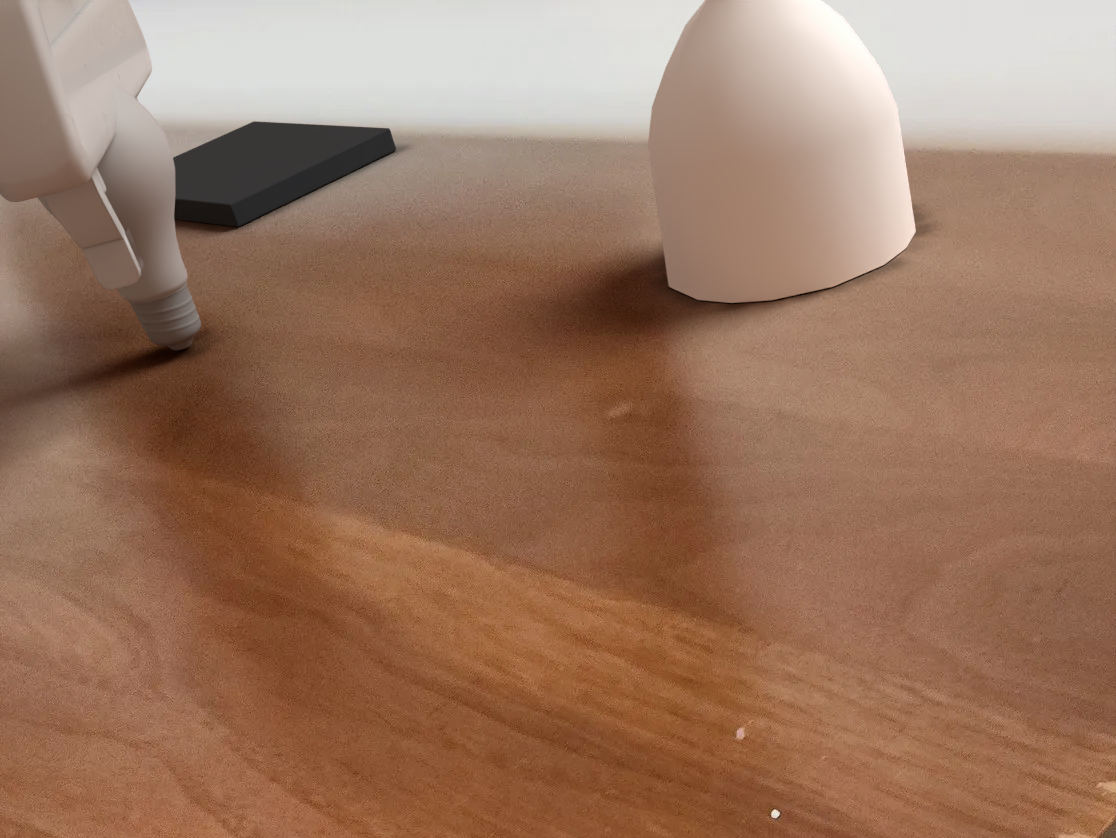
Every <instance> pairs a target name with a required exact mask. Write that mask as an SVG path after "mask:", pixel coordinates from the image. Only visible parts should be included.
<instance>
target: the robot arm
mask: <svg viewBox="0 0 1116 838" xmlns="http://www.w3.org/2000/svg"><path fill="white" fill-rule="evenodd" d="M152 71H153V66H152V60H151V56H150V52H149V48H148V45H147V42H146V39H145V36H144V33H143V31H142V29H141V26H140V23H139V21H138V19H137V16H136V15H135V12H134V9H133V8H132V6H131V3H130V1H129V0H0V196H1V197H2V198H3V199H4V200H6V201H8V202H10V203H19V202H21V203H22V202H25V201H28V200H34V199H38V197H42V196H44V198H45V200H46V202H47V204H48V206H49V208H50V210H51V212H52V214H53V215H54V216H55V217H56V218H55V217H54V216H53V215H52V214H51V215H52V216H53V217H54V218H55V220H56V221H58V223H59V224H60V225H61V227H62V228H63V229H64V230H65V231H66V233H67V234H68V235H69V236H70V237H71V239H72V240H73V241H74V242H75V244H76V245H77V246H78V247H79V249H80V250H82V253H83V254H84V257H85V259H86V261H87V263H88V265H89V267H90V269H91V271H92V273H93V275H94V277H95V279H96V281H97V284H99V285H100V286H101V287H102V288H103V289H105V290H108V291H115V290H118V289H119V288H123V287H127V286H131V285H135V284H136V283H137V282H138V281H139V279H140V276H141V274H142V271H143V266H144V262H143V259H142V257H141V255H140V253H139V252H138V250H137V247H136V244H135V242H134V239H133V237H132V235H131V233H130V231H129V229H128V228H125V229H123V227H122V225H121V223H120V221H119V219H118V217H117V216H116V214H115V212H114V210H113V208H112V206H111V204H110V202H109V201H108V199H107V197H106V195H105V192H106V186H105V184H104V182H103V179H102V177H101V175H100V173H99V171H98V168H97V166H98V164H99V163H100V161H101V159H102V157H103V156H104V154H105V152H106V150H107V149H108V147H109V145H110V143H111V142H112V140H113V138H114V136H115V135H116V133H117V129H118V124H117V114H116V105H115V91H116V89H118V88H120V89H121V90H123V91H124V92H126V93H128V94H129V95H131V96H132V97H134V98H135V99H136V100H137V101H138V102H140V101H139V100H138V96H139V94H140V93H141V91H142V89H143V88H144V86H145V84H146V83H147V81H148V79H149V77H150V76H151V74H152Z"/></svg>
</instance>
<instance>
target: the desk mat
mask: <svg viewBox="0 0 1116 838" xmlns="http://www.w3.org/2000/svg"><path fill="white" fill-rule="evenodd" d="M396 150H397V147H396V144H395V141H394V138H393V134H392V131H391V129H390V128H389V127H371V126H369V127H368V126H355V125H354V126H352V125H351V126H350V125H335V124H334V125H333V124H332V125H331V124H316V123H315V124H314V123H313V124H311V123H294V122H293V123H292V122H274V121H273V122H272V121H255V120H254V121H251V122H249V123H246V124H244V125H243V126H240V127H238V128H235V129H234V130H230V131H229V132H227V133H224V134H222V135H220V136H218V137H216V138H213V139H211V140H209V141H207V142H205V143H202V144H199V145H197V146H195V147H194V148H191V149H189V150H187V151H184V152H182V153H180V154H178V155H175V156H173V160H174V165H175V210H174V220H179V221H185V222H186V221H187V222H195V223H204V224H210V225H221V226H228V227H235V228H239V227H242V226H243V225H246V224H248V223H250V222H253V221H254V220H256V219H258V218H260V217H262V216H264V215H267V214H269V213H270V212H273V211H274V210H276V209H279V208H282V207H283V206H285V205H287V204H289V203H291V202H294V201H295V200H297V199H299V198H301V197H303V196H306V195H307V194H310V193H312V192H313V191H316V190H317V189H319V188H322V187H324V186H326V185H328V184H330V183H332V182H334V181H336V180H338V179H340V178H342V177H345V176H346V175H348V174H350V173H352V172H354V171H357V170H359V169H361V168H363V167H365V166H367V165H369V164H371V163H373V162H375V161H377V160H379V159H381V158H383V157H385V156H387V155H390V154H392V153H393V152H396Z"/></svg>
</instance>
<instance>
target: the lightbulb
mask: <svg viewBox="0 0 1116 838" xmlns="http://www.w3.org/2000/svg"><path fill="white" fill-rule="evenodd" d="M138 101H139V100H138ZM138 101H137V100H136V99H135V98H134V97H132V96H131V95H129V94H128V93H126V92H124V91H123V90H121V89H120V88H118V89H116V91H115V105H116V114H117V124H118V129H117V133H116V135H115V136H114V138H113V140H112V142H111V143H110V145H109V147H108V149H107V150H106V152H105V154H104V156H103V157H102V159H101V161H100V163H99V164H98V166H97V168H98V171H99V173H100V175H101V177H102V179H103V182H104V184H105V186H106V192H105V195H106V197H107V199H108V201H109V202H110V204H111V206H112V208H113V210H114V212H115V214H116V216H117V217H118V219H119V221H120V223H121V225H122V227H123V229H125V228H128V229H129V231H130V233H131V235H132V237H133V239H134V242H135V244H136V247H137V250H138V252H139V253H140V255H141V257H142V259H143V262H144V266H143V271H142V274H141V276H140V279H139V281H138V282H137V283H136V284H135V285H131V286H127V287H123V288H119V289H117V291H118V293H119V294H120V296H121V297H122V298H123V300H125V301H127V302H129V303H130V305H131V308H132V311H133V312H134V313H135V315H136V317H137V320H138V321H139V323H140V325H141V326H142V329H143V331H144V332H145V334H146V336H147V338H148V340H149V341H150V342H151V343H153V344H155V345H157V346H160V347H161V346H162V347H164V346H165V347H168V349H171V350H172V351H181V350H186V349H187V348H189V347H190V346H191V345H193V340H194V337H195V336H196V335H198V333H199V331H200V330H201V327H202V321H201V319H200V318H201V317H200V314H199V313H198V310H197V307H196V304H195V303H194V299H193V296H192V294H191V292H190V290H189V287H188V278H189V277H188V271H187V268H186V266H185V263H184V261H183V258H182V255H181V250H180V247H179V243H178V242H179V241H178V238H177V232H176V222H175V219H174V210H175V165H174V160H173V157H174V156H173V151H172V147H171V146H170V145H171V144H170V143H169V140H168V138H167V136H166V133H165V132H164V130H163V129H162V127H161V125H160V124H159V122H158V121H157V119H156V118H155V117H154V115H153V114H152V113H151V112H150V110H149V109H148V108H147V107H145V105H143V104H142V103H141V102H140V101H139V102H138ZM37 199H38V201H39V202H40V203H41V204H42V205H43V207H44V209H45V210H46V211H47V212H48V213H49V214H50V215H51V216H53V218H55V219H56V217H55V216H54V215H53V214H52V212H51V210H50V208H49V206H48V204H47V202H46V200H45V198H44V196H42V197H38V198H37Z"/></svg>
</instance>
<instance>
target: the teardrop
mask: <svg viewBox="0 0 1116 838" xmlns="http://www.w3.org/2000/svg"><path fill="white" fill-rule="evenodd" d="M650 112H651V113H650V122H649V129H648V130H649V131H648V142H647V149H648V156H649V162H650V170H651V175H652V176H651V177H652V182H653V190H654V196H655V202H656V208H657V216H658V222H659V223H658V224H659V229H660V236H661V242H662V243H661V244H662V250H663V257H664V262H665V263H664V264H665V271H666V278H667V286H668V287H669V288H671V289H673V290H675V291H678V292H679V293H682V294H684V295H686V296H689V297H691V298H693V299H695V300H697V301H705V302H706V301H707V302H718V303H727V304H728V303H730V304H734V303H751V302H752V303H753V302H763V301H764V302H765V301H774V300H778V299H782V298H784V299H785V298H788V297H792V296H798V295H800V294H801V295H802V294H805V293H806V294H807V293H811V292H815V291H821V290H825V289H829V288H834V287H835V286H838V285H840V284H842V283H845V282H847V281H850V280H852V279H854V278H857V277H859V276H861V275H863V274H866V273H868V272H870V271H874V270H875V269H877V268H880V267H883V266H884V265H886V264H887V263H889V262H890V261H892V260H893V259H894V258H895V257H897V256H898V255H899V254H901V253H902V252H903V251H904V250H907V248H908V246H909V244H910V243H911V241H912V239H913V238H914V236H915V234H916V232H917V231H916V224H915V223H916V222H915V216H914V210H913V203H912V197H911V189H910V182H909V177H908V176H909V175H908V169H907V163H906V155H905V150H904V143H903V142H904V141H903V137H902V128H901V122H900V116H899V108H898V104H897V102H896V100H895V98H894V95H893V92H892V90H891V88H890V85H889V83H888V81H887V78H886V76H885V74H884V71H883V69H882V67H881V66H880V65H879V63H878V62H877V60H876V59H875V57H874V56H873V55H872V53H871V52H870V51H869V49H868V48H867V47H866V45H865V44H864V42H863V41H862V39H861V38H860V36H859V35H858V34H857V33H856V31H855V30H854V29H853V28H852V26H851V25H850V24H849V22H848V21H847V20H846V18H845V17H844V16H842V15H841V14H839V13H838V12H837V11H836V10H835V9H833V8H832V7H831V6H830V5H829V4H827V3H826V2H825V1H823V0H704V1H703V2H702V3H701V4H700V6H699V7H698V8H697V10H696V11H695V12H694V14H693V15H692V16H691V17H690V19H689V20H688V21H687V22H686V23H685V25H684V27H683V29H682V31H681V33H680V35H679V38H678V40H677V42H676V44H675V46H674V49H673V51H672V53H671V55H670V57H669V60H668V61H667V63H666V65H665V68H664V70H663V74H662V76H661V79H660V82H659V86H658V88H657V91H656V94H655V97H654V100H653V103H652V105H651V111H650Z"/></svg>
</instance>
